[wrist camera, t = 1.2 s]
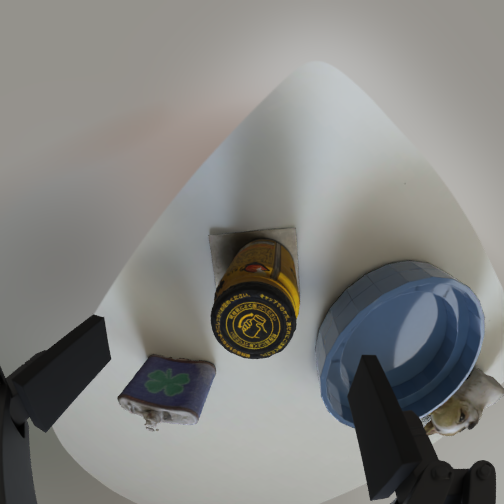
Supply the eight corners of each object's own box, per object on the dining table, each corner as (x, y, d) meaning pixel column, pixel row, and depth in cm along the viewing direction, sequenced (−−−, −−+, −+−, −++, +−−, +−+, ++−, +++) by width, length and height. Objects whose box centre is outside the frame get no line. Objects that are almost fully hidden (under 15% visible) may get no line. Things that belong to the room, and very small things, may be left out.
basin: (332, 249, 27) (345, 267, 21) (476, 267, 25) (505, 283, 19) (301, 397, 31) (302, 432, 25) (427, 394, 30) (442, 421, 24)
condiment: (299, 298, 28) (309, 369, 17) (218, 302, 29) (183, 370, 18) (295, 227, 27) (306, 260, 15) (209, 234, 28) (159, 270, 16)
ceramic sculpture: (508, 417, 20) (424, 468, 24) (487, 385, 28) (413, 430, 32) (513, 377, 19) (414, 441, 23) (485, 343, 27) (399, 396, 31)
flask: (216, 361, 31) (191, 426, 21) (217, 379, 32) (195, 444, 21) (146, 351, 32) (105, 404, 22) (150, 369, 33) (113, 423, 22)
